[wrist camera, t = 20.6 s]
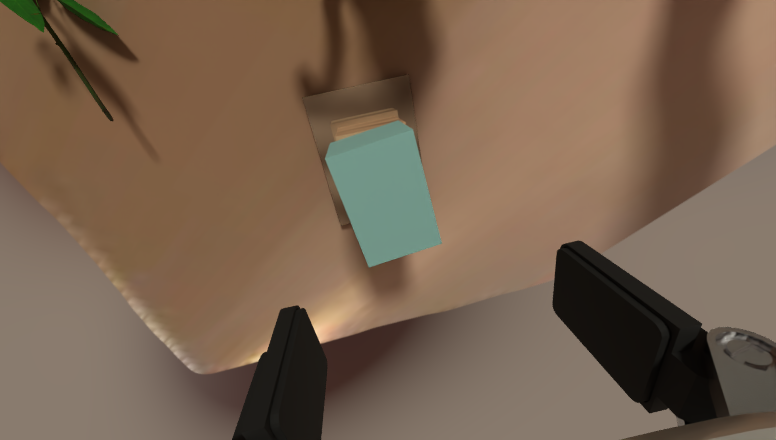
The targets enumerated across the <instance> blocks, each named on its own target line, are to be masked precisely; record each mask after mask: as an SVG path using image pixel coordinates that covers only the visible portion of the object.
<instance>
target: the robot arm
mask: <svg viewBox="0 0 776 440" xmlns="http://www.w3.org/2000/svg"><path fill="white" fill-rule="evenodd" d="M553 309H554V311H555V313H556V314H557V316H558V317H559V318H560V319H561V320H562V321H563V322H564V324H565V325H566V326H567V327H568V328H569V329H570V330H571V331H572V333H573V334H574V335H575V336H576V337H577V338H578V339H579V341H580V342H581V343H582V344H583V345H584V346H585V347H586V348H587V350H588V351H589V352H590V353H591V354H592V355H593V356H594V357H595V359H596V360H597V361H598V362H599V363H600V364H601V365H602V366H603V368H604V369H605V370H606V371H607V372H608V373H609V374H610V376H611V377H612V378H613V379H614V380H615V381H616V382H617V383H618V385H619V386H620V387H621V388H622V389H623V390H624V391H625V393H626V394H627V395H628V396H629V397H630V398H631V399H632V400H633V401H635V402H637V403H640V404H641V405H642V406H643V407H644V408H645V409H646V410H647V411H648V412H649V413H653V412H657V411H662V410H666V409H667V408H669V409H670V410H671V411H672V412H673V413H674V414H675V415H676V418H677V423H678V427H673V428H669V429H664V430H659V431H655V432H651V433H647V434H643V435H638V436H634V437H630V438H626V439H622V440H776V343H775V342H773V341H772V340H770V339H768V338H766V337H763V336H761V335H758V334H756V333H754V332H750V331H747V330H743V329H739V328H731V327H718V328H715V329H712V330H710V331H709V333H708V332H706V331H705V330H704V329H702V328H701V326H702V323H700V322H699V321H697V320H696V319H694V318H693V317H691V316H690V315H688V314H687V313H686V312H684V311H683V310H681V309H680V308H678V307H677V306H675V305H674V304H673V303H671V302H670V301H668V300H667V299H665V298H664V297H662V296H661V295H659V294H658V293H656V292H655V291H654V290H652V289H651V288H649V287H648V286H646V285H645V284H643V283H642V282H640V281H639V280H637V279H636V278H635V277H633V276H632V275H630V274H629V273H627V272H626V271H624V270H623V269H621V268H620V267H619V266H617V265H616V264H614V263H612V262H611V261H610V260H608V259H607V258H605V257H604V256H602V255H601V254H600V253H598V252H597V251H595V250H594V249H592V248H591V247H589V246H588V245H587V244H585V243H584V242H582V241H575V242H570V243H566V244H563V245H562V246H561V247H560V249H559V250H558V251H557V256H556V268H555V280H554V292H553ZM326 377H327V359H326V357H325V354H324V352H323V349H322V347H321V345H320V342H319V340H318V338H317V335H316V333H315V331H314V328H313V326H312V324H311V321H310V319H309V317H308V314H307V312H306V310H305V309H304V308H302V309H300V307H299V306H297V305H296V306H292V307H288V308H283V309H281V310H280V313H279V316H278V319H277V322H276V325H275V328H274V331H273V334H272V337H271V341H270V344H269V347H268V350H267V352H264V353H263V354H262V355H261V357H260V359H259V362H258V365H257V368H256V371H255V373H254V377H253V380H252V382H251V385H250V388H249V391H248V394H247V397H246V400H245V403H244V406H243V409H242V412H241V415H240V418H239V421H238V424H237V427H236V430H235V432H234V436H233V438H232V440H321V434H322V422H323V411H324V400H325V389H326Z"/></svg>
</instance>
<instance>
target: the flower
mask: <svg viewBox="0 0 776 440" xmlns="http://www.w3.org/2000/svg"><path fill="white" fill-rule="evenodd" d="M57 1H59V2H60V3H61V4H62V5H63V6H65V7H66V8H67V9H68V10H70V11H71V12H72V13H74V14H75V15H77V16H78V17H80V18H81V19H83V20H85V21H87V22H89V23H91V24H93V25H95V26H96V27H98V28H100V29H102V30H105V31H108V32H111V33H113V34H116V35H118V34H117V33H116V32H115V31H114V30H113V29H112V28H111V27H110V26H109V25H107V24H106V22H105V21H103V20H102V19H101V18H100V17H99V16H98V15H96V14H95V13H93V12H92V11H90V10H88V9H87V8H85V7H83V6H82V5H80V4H78V3H77V2H76V1H74V0H57ZM0 2H1V3H3V4H4V5H5V6H7V7H8V8H9V9H10V10H12V11H13V12H15V13H16V14H17V15H19V16H20V17H21V18H23V19H24V20H26V21H27V22H29V23H30V24H32V25H34V26H35V27H36V28H38V29H39V30H40V31H42V32H44V26H45V27H46V28H47V30H48V31H49V33H50V34H51V35H52V37H53V38H54V40H55V41H56V43H55V44H56V45H58V46H59V47H60V48H61V49H62V51H63V52H64V54H65V55H66V57H67V58H68V60H69V61H70V63H71V64H72V66H73V67H74V69H75V70H76V72H77V73H78V75H79V76H80V78H81V79H82V81H83V82H84V84H85V85H86V87H87V88H88V90H89V91H90V93H91V94H92V96H93V98H94V99H95V101H96V102H97V103H98V105H99V106H100V108H101V109H102V112H104V113H105V115H106V116H107V117H108V119H109V120H110V121H114V120H113V118H112V116H111V115H110V113H109V112H108V110H107V109H106V108H105V106H104V105H103V103H102V102H101V100H100V99H99V97H98V96H97V94H96V93H95V91H94V90H93V88H92V87H91V85H90V84H89V82H88V81H87V79H86V78H85V76H84V74H83V73H82V71H81V70H80V68H79V67H78V65H77V64H76V62H75V61H74V59H73V58H72V56H71V55H70V53H69V52H68V50H67V49H66V48H65V46H64V45H63V43H62V42H61V41H60V39H59V38H58V36H57V35H56V33H55V32H54V31H53V29H52V28H51V26H50V25H49V23H48V22H47V21H46V19H45V18H44V16H43V15H42V13H41V12H40V7H39V4H38V1H37V0H36V3H37V6H38V8H37V6H36V5H35V3H34V2H33V0H0Z"/></svg>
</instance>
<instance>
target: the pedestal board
mask: <svg viewBox="0 0 776 440" xmlns="http://www.w3.org/2000/svg"><path fill="white" fill-rule="evenodd" d="M302 99H303V102H304V105H305V109H306V112H307V115H308V119H309V122H310V125H311V129H312V132H313V135H314V138H315V142H316V145H317V148H318V152H319V155H320V158H321V162H322V165H323V168H324V172H325V175H326V178H327V181H328V185H329V188H330V191H331V195H332V198H333V201H334V205H335V208H336V211H337V215H338V218H339V221H340V224H341V225H345V224H350V223H351V222H350V219H349V217H348V214H347V212H346V210H345V207H344V205H343V202H342V200H341V197H340V195H339V192H338V190H337V187H336V185H335V182H334V180H333V177H332V175H331V172H330V170H329V168H328V165H327V163H326V160H325V157H326V154H327V151H328V148H329V145H330V143H332V142H335V141H336V133H337V129H338V128H340V127H345V126H350V125H355V124H360V123H364V122H369V121H374V120H379V119H383V118H388V117H393V116H396V117H398V118H399V119H401V120H403V121H404V122H406V125H407V126H408V127H410V128H412V129H413V131H414V135H415V139H416V143H417V147H418V151H419V155H420V159H421V154H420V147H419V140H418V134H417V127H416V120H415V113H414V106H413V100H412V93H411V86H410V79H409V74H408V75H403V76H399V77H394V78H390V79H385V80H381V81H376V82H371V83H367V84H362V85H358V86H353V87H349V88H344V89H339V90H335V91H330V92H326V93H321V94H317V95H312V96H307V97H303V98H302ZM421 163H422V161H421Z"/></svg>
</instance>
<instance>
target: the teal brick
mask: <svg viewBox="0 0 776 440" xmlns="http://www.w3.org/2000/svg"><path fill="white" fill-rule="evenodd" d="M325 160H326V163H327V165H328V168H329V170H330V172H331V175H332V177H333V180H334V182H335V185H336V187H337V190H338V192H339V195H340V197H341V200H342V202H343V205H344V207H345V210H346V212H347V214H348V217H349V219H350V222H351V224H352V227H353V229H354V232H355V234H356V237H357V239H358V242H359V244H360V247H361V249H362V252H363V254H364V256H365V259H366V261H367V264H368V266H369V267H372V266H375V265H378V264H381V263H384V262H387V261H390V260H393V259H396V258H399V257H403V256H406V255H409V254H412V253H415V252H418V251H421V250H424V249H427V248H430V247H433V246H436V245H439V244H442V242H441V238H440V234H439V230H438V227H437V223H436V219H435V215H434V211H433V207H432V203H431V199H430V195H429V191H428V187H427V183H426V179H425V175H424V171H423V167H422V163H421V159H420V155H419V151H418V147H417V143H416V139H415V135H414V131H413V129H412V128H410V127H408V126H407V125H405V124H404V123H402V122H400V121H399V120H397V121H394V122H392V123H389V124H386V125H383V126H380V127H377V128H374V129H371V130H368V131H365V132H362V133H359V134H356V135H353V136H350V137H347V138H344V139H341V140H338V141H335V142H332V143H330V145H329V148H328V151H327V154H326V157H325Z"/></svg>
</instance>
